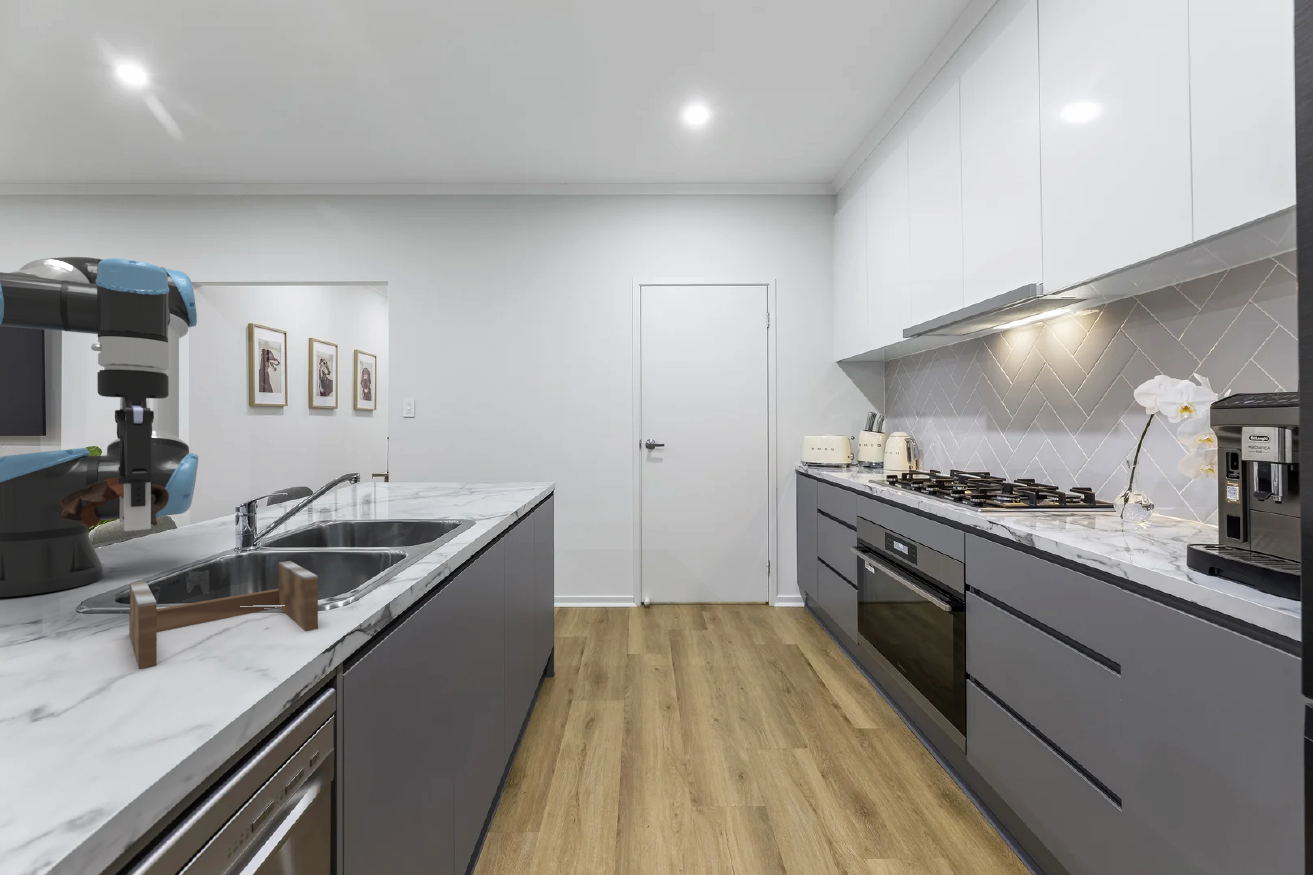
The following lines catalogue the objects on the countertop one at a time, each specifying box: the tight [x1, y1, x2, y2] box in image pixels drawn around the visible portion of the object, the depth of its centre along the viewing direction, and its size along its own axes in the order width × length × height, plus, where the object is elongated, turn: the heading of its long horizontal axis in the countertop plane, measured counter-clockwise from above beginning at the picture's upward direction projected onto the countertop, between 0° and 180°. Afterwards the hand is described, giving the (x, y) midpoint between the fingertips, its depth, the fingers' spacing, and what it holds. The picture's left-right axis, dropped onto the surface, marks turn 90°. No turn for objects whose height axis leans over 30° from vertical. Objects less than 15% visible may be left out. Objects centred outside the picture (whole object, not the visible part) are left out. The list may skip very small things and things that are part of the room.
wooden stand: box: [128, 560, 319, 670], centre depth 75 cm, size 16×18×7 cm
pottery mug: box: [59, 477, 169, 529], centre depth 81 cm, size 12×9×8 cm
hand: (134, 525), depth 81 cm, fingers closed on pottery mug, 9 cm apart
